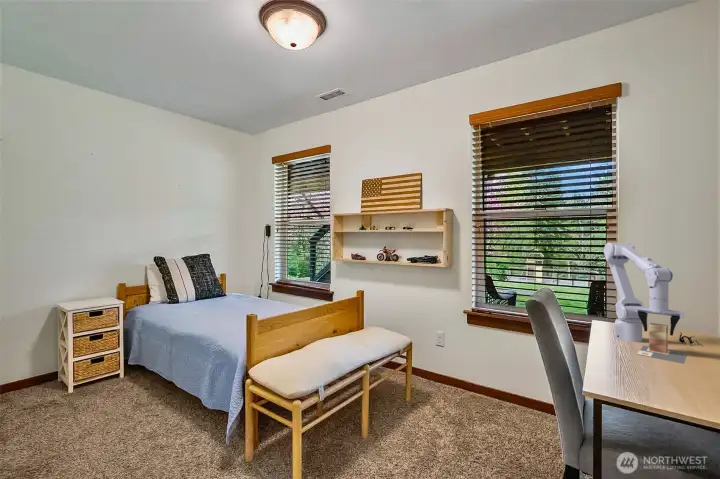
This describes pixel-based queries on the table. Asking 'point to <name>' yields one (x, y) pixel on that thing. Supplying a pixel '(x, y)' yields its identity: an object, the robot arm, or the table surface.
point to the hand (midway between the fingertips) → (658, 332)
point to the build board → (663, 355)
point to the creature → (688, 339)
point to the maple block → (658, 331)
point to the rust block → (658, 345)
